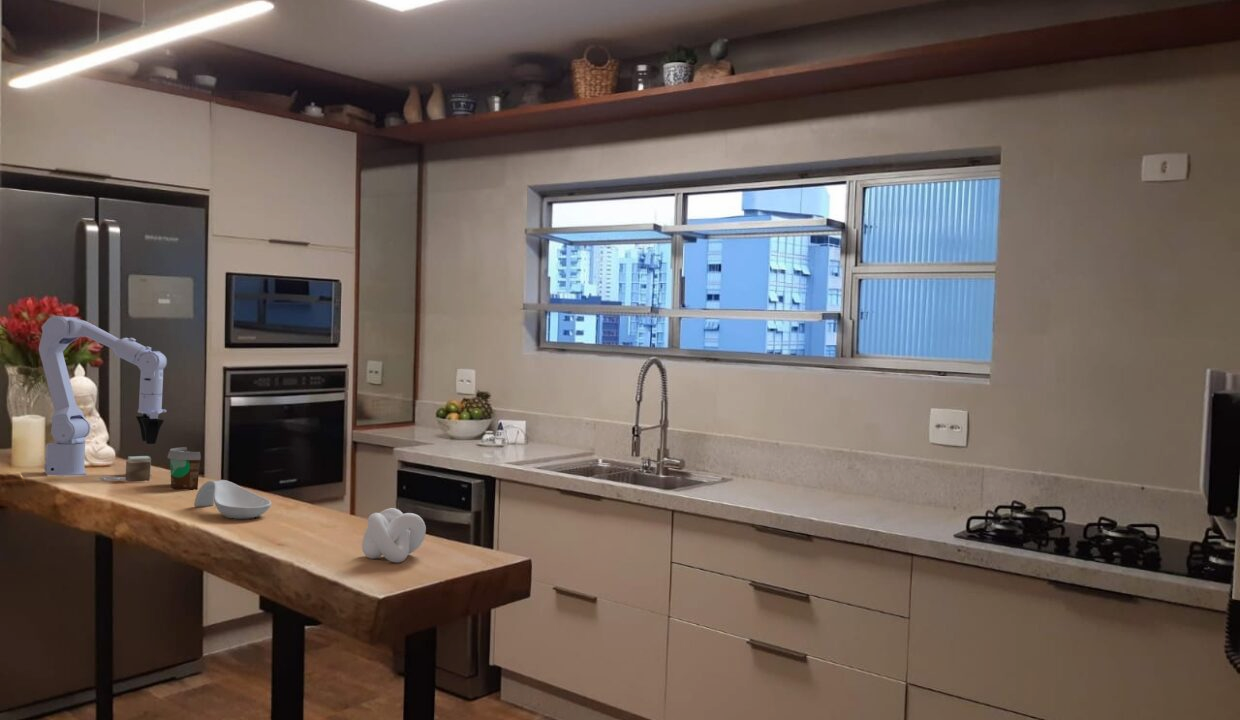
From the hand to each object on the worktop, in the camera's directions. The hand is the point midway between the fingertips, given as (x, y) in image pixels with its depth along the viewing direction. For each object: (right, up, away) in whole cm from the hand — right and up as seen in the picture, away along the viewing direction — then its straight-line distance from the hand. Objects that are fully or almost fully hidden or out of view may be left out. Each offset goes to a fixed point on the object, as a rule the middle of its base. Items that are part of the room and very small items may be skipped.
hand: (148, 442), depth 254 cm
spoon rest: (+43, -13, -46) cm, 64 cm away
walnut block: (+2, -9, -10) cm, 14 cm away
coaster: (+2, -10, -10) cm, 14 cm away
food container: (+16, -11, -15) cm, 25 cm away
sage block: (-3, -9, 0) cm, 10 cm away
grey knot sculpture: (+88, -15, -82) cm, 122 cm away
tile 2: (-3, -10, 0) cm, 10 cm away
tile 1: (-6, -10, -8) cm, 14 cm away
